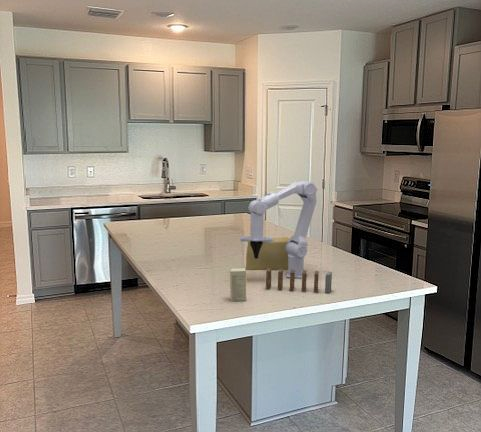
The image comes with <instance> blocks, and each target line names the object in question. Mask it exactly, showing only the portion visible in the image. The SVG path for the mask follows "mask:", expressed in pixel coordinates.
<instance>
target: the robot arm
mask: <svg viewBox="0 0 481 432" xmlns="http://www.w3.org/2000/svg"><path fill="white" fill-rule="evenodd" d="M317 191H318V188H317V186H316V184H315V183H314V182H313V181H305V180H301V179H300V180H296V181H293V182H292V183H291V184H290V185H287V186H286V187H284V188H283V189H281V190H279V191H277V192H276V193H275V192H270V191H269V192H266V193H267V194H266V195H264V196H262V197H259V198H258V199H257V200H256V199H255V200H252V201H251V202H250V203H249V205H248V206H247V208H248V211H249V212H250V225H249V226H250V233H249V234H250V235H249V236H240V237H239V242H240V243H241V242H247V243H248V242H250V245H251V247H252V250H253V253H254V258H255V259H258V256H259V251H260V249H261V246H262V244H263V242H265V243H273V238H274V237H267V236H264V221H265V220H264V219H265V217H264V215H265V213H266V212H267V210H269V209H272V208H273V207H275V206H277V205H278V204H279V202H280V201H281V200H282V199H285V198H287V197H290V196H292V195H293V194H296V195H298V196H299V197H300V199H301V200H302V202H303V204H302V208H301V209H300V210H301V211H300V213H299V217H298V220H297V224H296V227H295V231H294V234H293V235H292V236H290V237H289V238H290V240H289V242H288V243H287V244H286V252H287V253H288V269H287V273H286V276H285V277H286V278H290V271H291V269H292V270H295V279H297V278H298V279H302V272H303V270H305V268H304V266H305V265H304V264H305V257H306V256H307V254H308V244H309V243H308V241H307V239H306V238H307V235H308V232H309V227H310V224H311V221H312V217H313V214H314V212H315V207H316V204H317Z"/></svg>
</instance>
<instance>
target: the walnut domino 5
mask: <svg viewBox="0 0 481 432" xmlns="http://www.w3.org/2000/svg"><path fill="white" fill-rule="evenodd" d="M313 274H314V277H313V278H314V279H313V294H314V293H315V294H318V293H319V277H320V276H319V274H320V272H319V270H314V273H313Z"/></svg>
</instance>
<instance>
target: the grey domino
mask: <svg viewBox="0 0 481 432" xmlns="http://www.w3.org/2000/svg"><path fill="white" fill-rule="evenodd" d="M332 277H333V272H332V271H327V272H326V273H325V279H324V280H325V281H324V283H325V284H324V288H325V289H324V294H327V295H329V294H330V293H331V291H332V284H333V283H332V282H333V281H332V279H333V278H332Z"/></svg>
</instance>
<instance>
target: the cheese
mask: <svg viewBox="0 0 481 432" xmlns="http://www.w3.org/2000/svg"><path fill="white" fill-rule="evenodd" d="M272 238H273V243H265V242H263V244H262V246H261V249H260V251H259V256H258V259H255V258H254V253H253V250H252V247H251V245H250V242H247V247H246V256H245V258H246V259H245V260H246V261H245V269H246V271H247V270H248V271H264V270H265V271H267V269H268V268H271V271H272V270H279V269H283V270H288V253H287V252H286V244H287V243H288V242H289V240H290V238H291V237H287V236H282V237H272Z"/></svg>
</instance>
